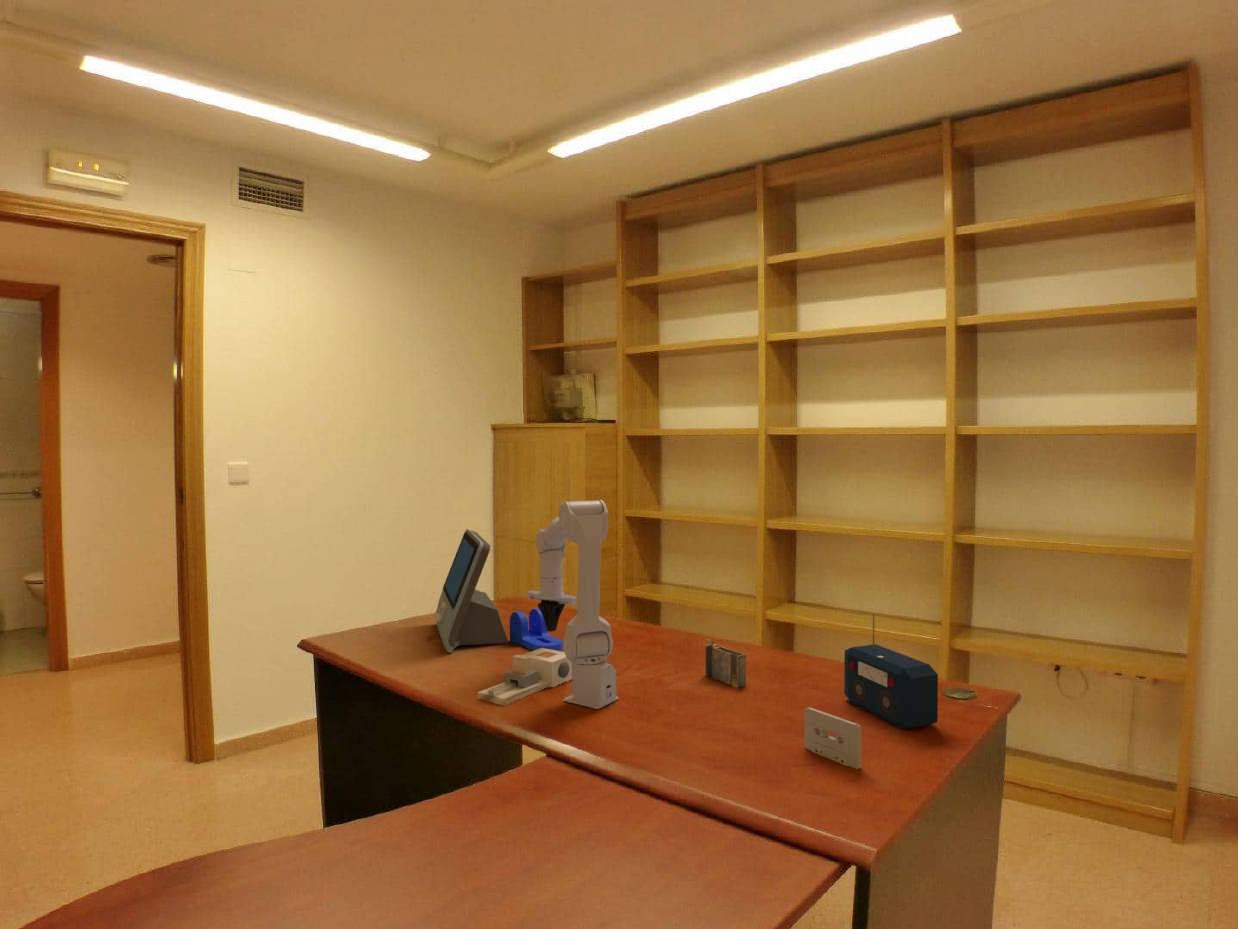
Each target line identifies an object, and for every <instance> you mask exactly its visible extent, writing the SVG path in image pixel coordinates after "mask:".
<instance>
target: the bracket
mask: <svg viewBox="0 0 1238 929" xmlns="http://www.w3.org/2000/svg"><path fill="white" fill-rule="evenodd" d="M509 642H511V643H514V644H517V645H518V644H520V645H519V646H521V645H522V646H521V647H523V646H524V647H523V648H525V647H526V649H528V650H531V651H532V650H537V649H540V648H545V649H550V650H555V651H559V650H561V651H562V650H564V645H563V642H564V640H562V639H561V638H559V637H555V636H552V635H550V634H549V631H547V628H546V624H545V620H544V618H543V615H542V613H541V611H540V609H539V608H538V607H537V608H532V609H531V610H530V612H529V614H528V618H527V615H526V612H524V611H521V610H519V611H514V612H512V613H511V614H510V616H509Z"/></svg>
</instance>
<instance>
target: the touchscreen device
mask: <svg viewBox="0 0 1238 929" xmlns="http://www.w3.org/2000/svg"><path fill="white" fill-rule="evenodd" d="M490 551H491V544H489V542H487V541H486V540H485V539H484V538H483V537H482V536H481V535H480V534H479V533H477V532H476V531H474V530H471V529H468V528H467V529H465V531H464V533H463V535H462V538H461V541H460V544H459V546H458V548H457V550H456V553H455V556H454V558H453V561H452V563H451V565H450V569H449V571H448V574H447V576H446V578H445V580H444V584H443V586H442V590H441V594H440V597H439V600H438V602H437V608H436V610H435V612H434V614H433V617H434V619H435V621H436V626H437V627H436V628H437V631H438V633H439V635H440V636H439V637H440V638H441V641H442V644H443V647H444V649H445V651H446V652H447V653H449V654H452V653H453V651H454V649H456V648H457V647H458V646H459V647H460V646H476V645H481V646H482V645H500V644H501V645H502V644H503V645H504V644H509V640H508V636H507V633H506V632H505V629H504V625H503V622H502V618H501V616H500V612H499V611H498V607H496V605H495V604H494V603H493V601H492V600H491V598H490V597H489V595H488V594H487V592H484V591H480V590H478V589H476V588H477V585H478V582H479V581H480V580H479V579H480V577H481V574H482V571H483V570H484V567H485V564H486V562H487V560H488V557H489V554H490Z"/></svg>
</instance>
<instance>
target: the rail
mask: <svg viewBox="0 0 1238 929" xmlns="http://www.w3.org/2000/svg"><path fill="white" fill-rule="evenodd" d="M516 687H518V681H517V680H514V681H511V682H509V683H506V684H504V685H501V686H498V687H496V688H493V689H491V690H488V695H491V696H496V695H498V694H501V693H503V692H506V691H508V690H511V689H513V688H516Z"/></svg>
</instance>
